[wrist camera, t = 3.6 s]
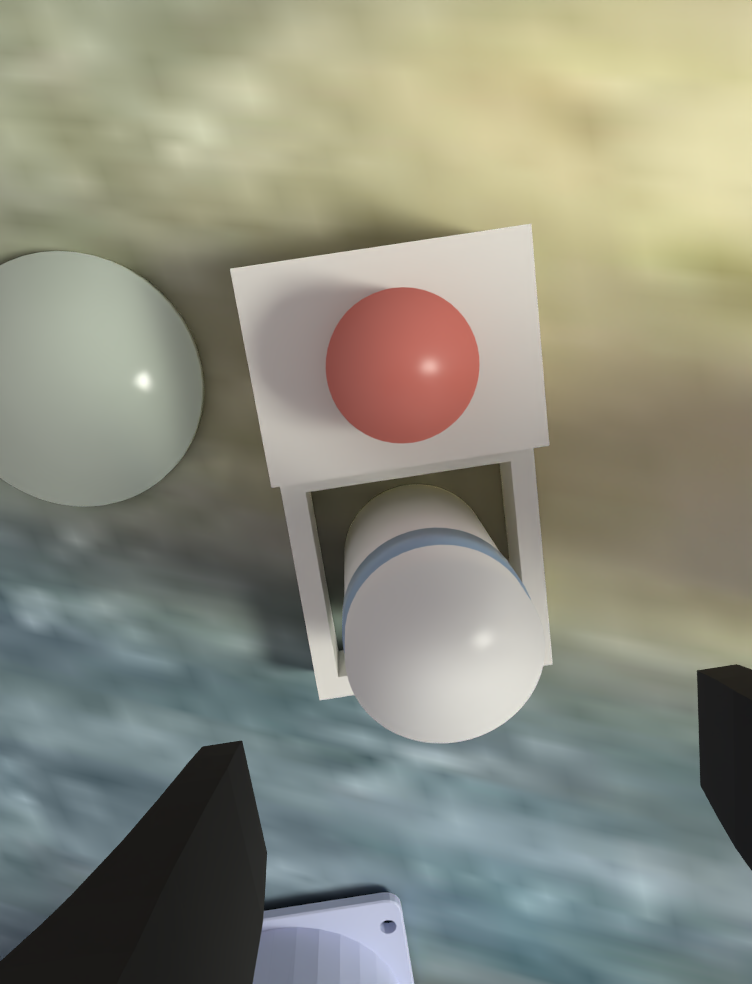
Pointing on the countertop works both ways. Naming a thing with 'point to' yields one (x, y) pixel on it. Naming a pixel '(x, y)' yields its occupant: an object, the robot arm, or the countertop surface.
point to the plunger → (402, 365)
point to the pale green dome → (91, 380)
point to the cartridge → (435, 619)
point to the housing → (362, 459)
